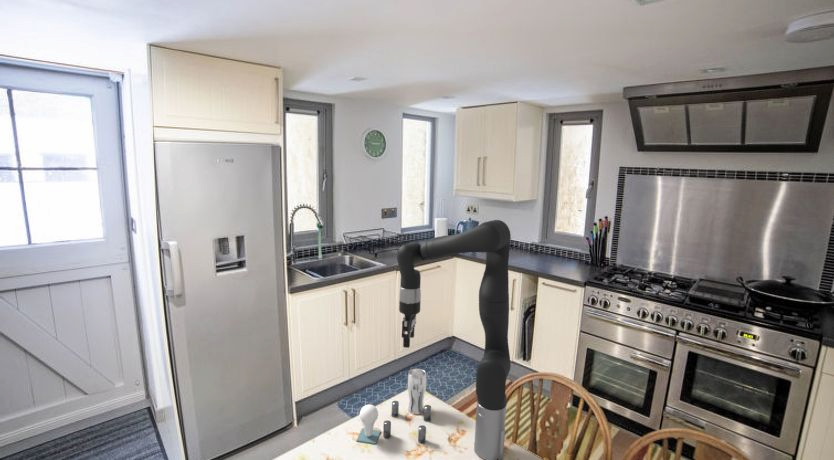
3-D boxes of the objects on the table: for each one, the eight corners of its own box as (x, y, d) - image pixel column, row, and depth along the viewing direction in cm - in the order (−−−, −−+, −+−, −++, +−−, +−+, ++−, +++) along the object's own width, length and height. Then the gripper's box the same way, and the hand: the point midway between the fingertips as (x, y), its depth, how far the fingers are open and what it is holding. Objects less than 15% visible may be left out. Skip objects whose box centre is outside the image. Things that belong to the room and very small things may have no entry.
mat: (380, 431, 140) (380, 430, 140) (375, 444, 133) (375, 443, 133) (362, 429, 141) (362, 428, 141) (356, 441, 134) (356, 440, 134)
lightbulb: (371, 444, 133) (371, 413, 131) (355, 438, 136) (356, 407, 134) (381, 433, 138) (381, 404, 136) (366, 428, 141) (366, 398, 139)
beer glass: (404, 406, 155) (405, 370, 152) (420, 402, 158) (421, 366, 155) (411, 417, 148) (412, 379, 146) (428, 412, 151) (429, 375, 149)
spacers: (431, 418, 148) (431, 405, 147) (424, 444, 134) (425, 430, 133) (392, 412, 151) (392, 400, 150) (382, 438, 137) (382, 424, 136)
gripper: (403, 292, 151) (402, 333, 154) (395, 304, 137) (394, 349, 140) (423, 293, 150) (422, 335, 152) (416, 306, 136) (415, 351, 139)
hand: (408, 342), depth 146 cm, fingers open, 8 cm apart
